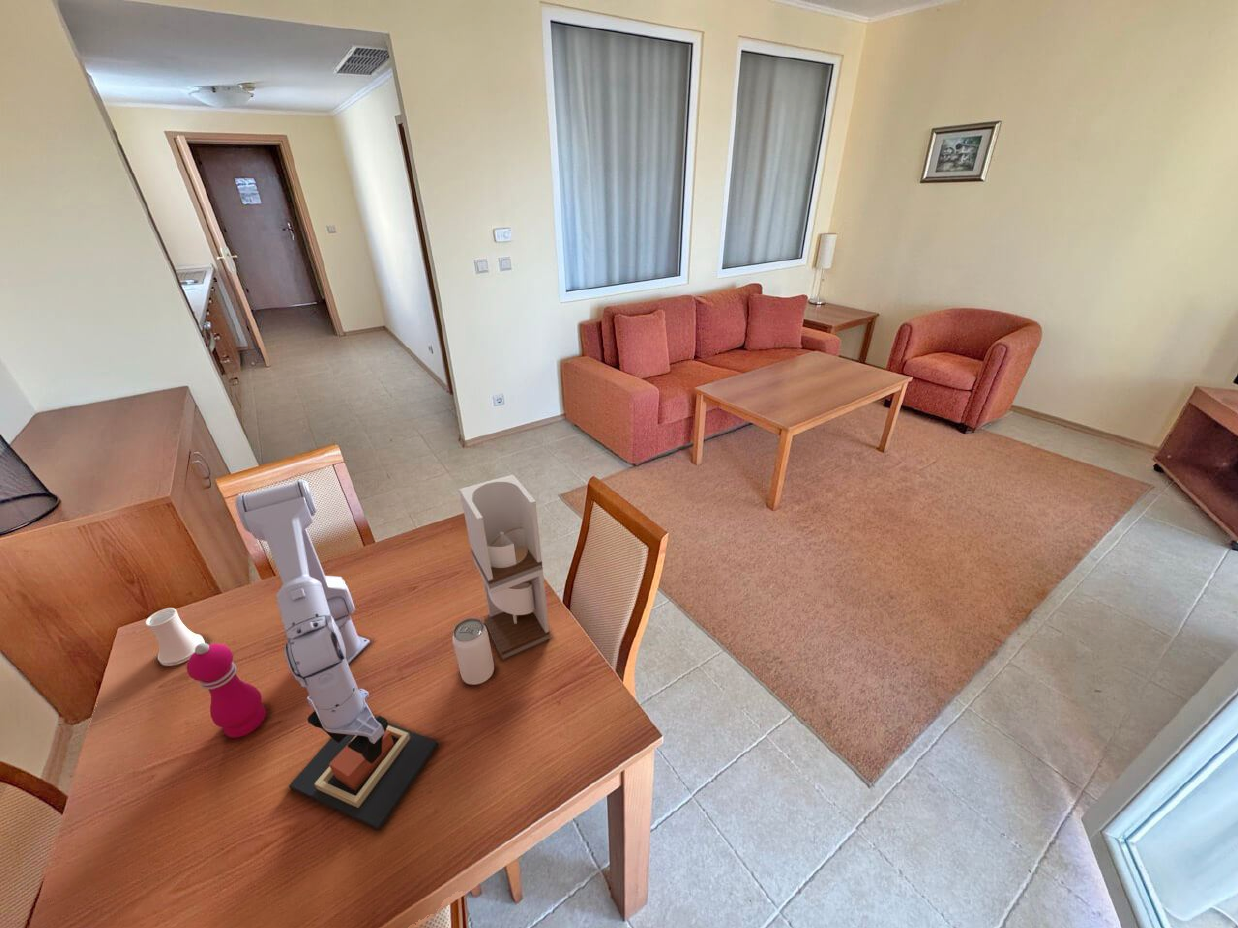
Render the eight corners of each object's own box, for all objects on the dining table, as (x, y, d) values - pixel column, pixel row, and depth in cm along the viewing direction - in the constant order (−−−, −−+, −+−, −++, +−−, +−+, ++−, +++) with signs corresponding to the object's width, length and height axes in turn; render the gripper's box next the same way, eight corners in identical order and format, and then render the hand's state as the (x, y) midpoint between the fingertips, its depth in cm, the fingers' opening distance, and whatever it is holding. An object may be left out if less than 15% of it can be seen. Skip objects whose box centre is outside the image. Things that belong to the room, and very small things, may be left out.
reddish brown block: (335, 778, 80) (328, 763, 78) (376, 735, 86) (370, 721, 84) (355, 791, 78) (348, 776, 76) (395, 746, 85) (389, 732, 83)
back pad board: (290, 788, 80) (285, 780, 79) (357, 713, 91) (353, 704, 90) (379, 830, 74) (375, 822, 73) (438, 744, 86) (436, 735, 85)
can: (486, 688, 95) (476, 645, 90) (455, 683, 97) (444, 639, 91) (499, 661, 101) (491, 618, 95) (470, 656, 102) (460, 613, 96)
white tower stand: (485, 623, 110) (459, 489, 93) (530, 604, 115) (513, 474, 98) (502, 659, 101) (477, 518, 85) (550, 638, 106) (535, 501, 89)
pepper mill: (278, 710, 92) (237, 633, 82) (241, 746, 86) (192, 668, 76) (250, 698, 94) (206, 623, 84) (212, 733, 88) (160, 656, 78)
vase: (160, 672, 100) (136, 637, 95) (159, 649, 105) (136, 615, 100) (206, 652, 104) (186, 617, 99) (203, 631, 109) (183, 597, 104)
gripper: (391, 689, 74) (410, 743, 81) (326, 654, 80) (349, 708, 86) (350, 729, 68) (374, 784, 75) (284, 689, 74) (312, 744, 81)
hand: (358, 746), depth 80 cm, fingers open, 7 cm apart
